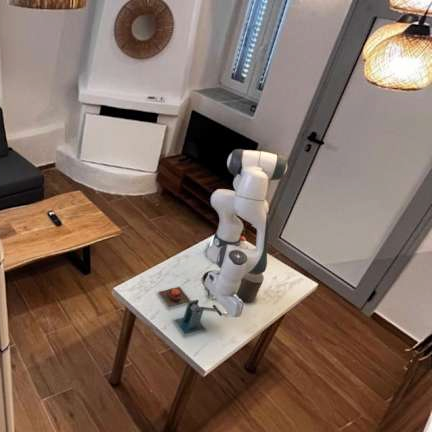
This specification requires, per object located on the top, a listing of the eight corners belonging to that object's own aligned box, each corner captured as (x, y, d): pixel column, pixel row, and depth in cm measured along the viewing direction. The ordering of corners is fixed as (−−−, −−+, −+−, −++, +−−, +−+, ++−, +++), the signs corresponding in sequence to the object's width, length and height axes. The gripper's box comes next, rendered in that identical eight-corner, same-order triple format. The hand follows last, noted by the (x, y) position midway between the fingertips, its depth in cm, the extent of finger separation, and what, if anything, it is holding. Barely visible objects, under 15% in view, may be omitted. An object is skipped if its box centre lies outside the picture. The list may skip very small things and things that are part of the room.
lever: (212, 307, 177) (216, 303, 175) (220, 317, 172) (224, 313, 171) (187, 304, 169) (190, 300, 168) (195, 314, 165) (198, 310, 164)
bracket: (193, 316, 178) (200, 295, 170) (204, 330, 172) (212, 309, 164) (174, 321, 176) (180, 300, 168) (184, 336, 170) (191, 314, 162)
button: (176, 290, 187) (176, 287, 186) (180, 295, 184) (181, 293, 183) (169, 292, 186) (170, 289, 185) (173, 297, 183) (174, 294, 182)
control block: (178, 289, 192) (180, 284, 190) (189, 302, 185) (190, 297, 183) (158, 294, 189) (159, 289, 187) (168, 308, 182) (169, 303, 180)
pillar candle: (241, 304, 184) (250, 282, 175) (228, 289, 192) (237, 267, 183) (259, 301, 186) (270, 278, 177) (246, 286, 193) (256, 263, 184)
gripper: (250, 301, 157) (240, 324, 165) (218, 267, 173) (210, 289, 181) (237, 305, 155) (227, 328, 163) (206, 270, 171) (198, 292, 179)
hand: (218, 307), depth 172 cm, fingers open, 8 cm apart
